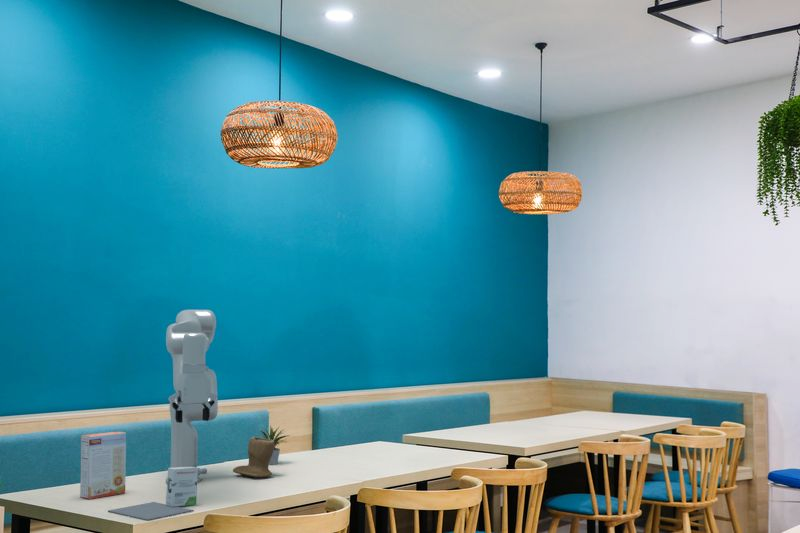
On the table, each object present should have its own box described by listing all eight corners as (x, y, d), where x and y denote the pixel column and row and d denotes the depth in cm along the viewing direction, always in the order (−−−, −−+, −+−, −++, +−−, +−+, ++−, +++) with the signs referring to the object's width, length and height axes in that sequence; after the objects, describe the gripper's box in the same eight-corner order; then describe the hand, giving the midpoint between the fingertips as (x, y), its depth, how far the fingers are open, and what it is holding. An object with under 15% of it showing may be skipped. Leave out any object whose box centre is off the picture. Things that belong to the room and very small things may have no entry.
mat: (153, 503, 279) (153, 501, 279) (193, 511, 267) (193, 510, 267) (107, 511, 266) (107, 510, 266) (147, 520, 254) (147, 519, 254)
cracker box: (116, 491, 299) (117, 430, 300) (125, 493, 295) (127, 432, 296) (78, 497, 288) (80, 434, 290) (88, 499, 284) (90, 435, 286)
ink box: (189, 502, 280) (191, 465, 282) (196, 504, 276) (199, 467, 278) (164, 504, 275) (167, 467, 276) (172, 507, 271) (174, 468, 272)
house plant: (272, 468, 349) (272, 427, 350) (246, 465, 356) (246, 425, 357) (294, 463, 361) (294, 424, 362) (268, 461, 368) (269, 422, 370)
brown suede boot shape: (280, 476, 330) (281, 437, 331) (255, 480, 321) (256, 440, 322) (256, 472, 340) (257, 433, 341) (231, 475, 332) (232, 436, 333)
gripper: (211, 369, 297) (210, 419, 296) (164, 370, 286) (163, 422, 285) (222, 369, 292) (221, 420, 290) (174, 371, 280) (173, 424, 279)
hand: (192, 421), depth 287 cm, fingers open, 9 cm apart
